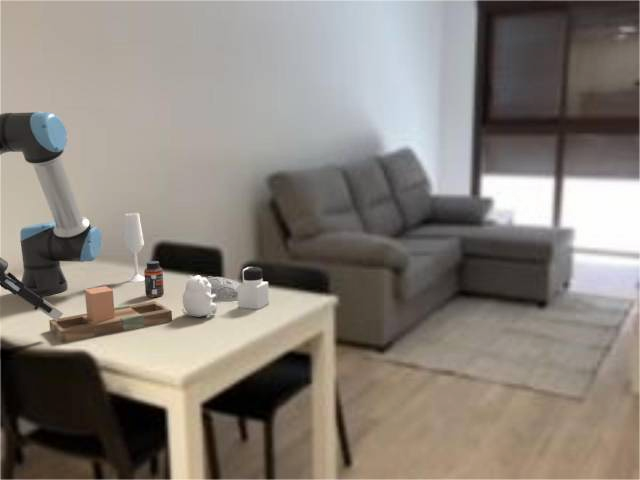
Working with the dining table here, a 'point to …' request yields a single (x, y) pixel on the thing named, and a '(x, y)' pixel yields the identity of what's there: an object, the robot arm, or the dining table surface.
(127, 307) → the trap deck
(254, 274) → the medicine bottle
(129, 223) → the champagne flute
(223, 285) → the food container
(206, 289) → the figurine
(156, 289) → the supplement bottle
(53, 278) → the robot arm
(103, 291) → the block
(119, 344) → the dining table surface
